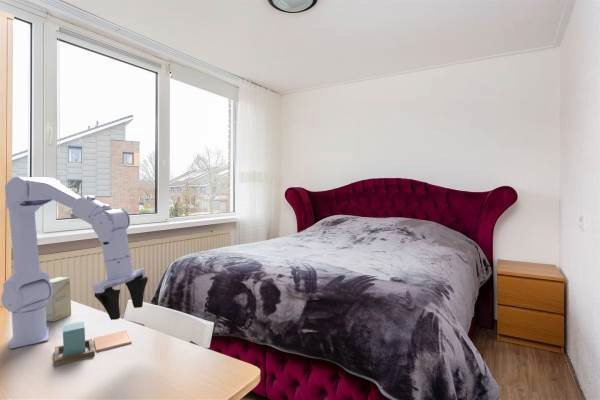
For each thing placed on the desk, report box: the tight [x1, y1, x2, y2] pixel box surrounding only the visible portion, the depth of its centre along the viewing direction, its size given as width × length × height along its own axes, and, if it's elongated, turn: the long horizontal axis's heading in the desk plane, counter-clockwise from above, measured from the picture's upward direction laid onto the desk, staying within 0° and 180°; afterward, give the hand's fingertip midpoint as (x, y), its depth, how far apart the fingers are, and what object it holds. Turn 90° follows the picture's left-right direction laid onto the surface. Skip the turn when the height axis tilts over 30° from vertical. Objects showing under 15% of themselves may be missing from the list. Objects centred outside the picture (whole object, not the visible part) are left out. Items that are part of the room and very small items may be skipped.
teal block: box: [62, 321, 87, 357], centre depth 85 cm, size 4×4×7 cm
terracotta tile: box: [93, 330, 132, 353], centre depth 92 cm, size 8×8×1 cm
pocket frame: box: [54, 338, 96, 367], centre depth 85 cm, size 8×8×1 cm
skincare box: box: [45, 276, 72, 322], centre depth 108 cm, size 6×4×12 cm
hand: (127, 312), depth 84 cm, fingers open, 7 cm apart
